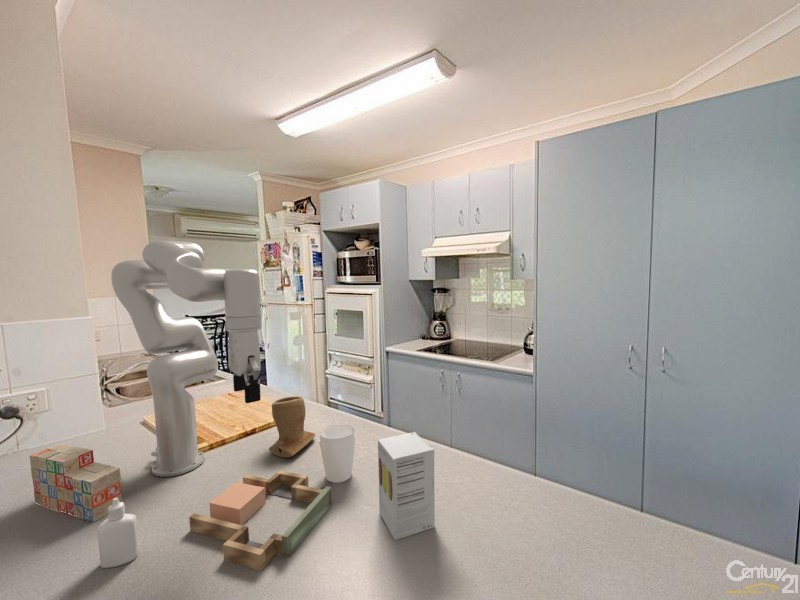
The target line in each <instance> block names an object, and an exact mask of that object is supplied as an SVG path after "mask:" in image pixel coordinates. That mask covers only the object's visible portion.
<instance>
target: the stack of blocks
mask: <svg viewBox="0 0 800 600" xmlns="http://www.w3.org/2000/svg"><path fill="white" fill-rule="evenodd" d="M29 461H30V462H29V463H30V471H31V472H30V473H31V478H32V479H31V480H32V486H33V496H34V502H36V503H38V504H40V505H42V506H41V507H43V506H45V507H48V508H51V509H54V510H57V511H63V512H66V513H70V514H72V515H75V516H77V517H79V518H78V519H80V518H82V519H81V520H83V519H86V520H88V521H87V522H90V521H92V522H91V523H94V521H95V522H97V521H98V520H100V519H102V518H104V517H105V516H107V515H108V507H109V506H111V505H112V503H113V499H114V498H118V500H119V502H123V501H122V500H123V499H122V486H121V485H122V484H121V481H122V480H121V476H122V475H121V468H120V467H116V466H114V465H113V466H112V465H111V464H110V465H109V464H105V463H100V462H95V458H94V450H93V449H91V448H90V449H89V448H83V447H79V446H74V445H70V444H66V443H59V444H55V445H54V446H50V447H47V448H46V449H43V450H41V451H37V452H35V453H32V454H30V455H29ZM40 505H39V506H40ZM45 507H44V508H45ZM48 508H47V509H48ZM51 509H50V510H51ZM54 510H53V511H54ZM57 511H56V512H57ZM106 514H107V515H106ZM72 515H71V516H72ZM75 516H74V517H75ZM103 516H104V517H103ZM77 517H76V518H77ZM101 517H102V518H101ZM99 518H100V519H99ZM97 519H98V520H97ZM86 520H85V521H86ZM96 520H97V521H96Z"/></svg>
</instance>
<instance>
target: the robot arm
mask: <svg viewBox="0 0 800 600" xmlns="http://www.w3.org/2000/svg"><path fill="white" fill-rule="evenodd" d="M205 261H206V259H205V253H204V250H203V249H202V248H201V246H200V245H199V244H197V243H194V242H191V241H181V240H163V239H160V240H159V239H158V240H154V241H152V242H149V243H147V244H146V245H145V246H144V248H143V250H142V259H130V260H129V259H128V260H125V261H121V262H118V263H116V264H115V265H114V266H113V268H112V270H111V275H110V277H111V278H110V280H111V285H112V288H113V292H114V294H115V295H116V298H117V299H118V301H119V302H120V303H121V304H122V306H123V307H124V308H125V309H126V311H127V312H128V315H129V317H130V318H131V321H132V324H133V327H134V330H135V331H136V333H137V337H138V338H139V342H140V343H141V346H142V348H143V349H144V350H145V352H147V353H148V354H150V355H151V354H152V355H158V354H159V355H160V354H164V355H161V356H158V357H156V358H154V359H152V360H151V361H150V363H149V364H148V366H147V368H146V377H147V380H148V384H149V386H150V390H151V395H152V400H153V401H152V402H153V411H154V422H155V423H154V424H155V435H156V436H155V437H156V447H155V450H152V451H151V453H150V455H151V456H152V457H155V459H156V462H154V463H153V465H152V466H151V472H152V474H153V476H155V477H159V476H160V477H161V478H166V477H169V478H170V477H174V476H179V475H183V474H186V473H188V472H191V471H193V470H194V469H196V468H198V467H200V466H201V465H202V463H203V462H204V461H205V454H204V452H203V451H201V452H199V453H198V451H199V446H198V434H197V432H198V431H197V430H198V429H197V418H196V403H195V399H194V397H193V395H191V394H190V392H188V391H187V389H186V388H185V387H186V386H189V385H191V384H196V383H198V382H199V383H200V382H203V381H206V380H209V379H211V378H214V377H215V376H216V375H217V373H218V370H219V362H218V357H217V355H216V353H215V349H214V348H213V345H212V343H211V341H210V338H209V336H208V334H207V332H206V329H205V328H204V326H203V324H202V323H201V322H200V321H199V320H198V319H197V318H195V317H192V316H191V317H190V316H183V317H182V316H181V317H171V316H170V315H169V314H168V311H167V309H166V306H165V305H164V303H163V302H162V301H161V300H159V298H157V297H156V296H155V295H153V294H152V293H150V292H148V291H147V290H164V289H167V290H168V289H169V290H170V291H171V292H172V293H173V294H174V295H176V296H178V297H180V298H182V299H183V300H186V301H188V302H192V303H193V302H195V303H202V302H211V301H212V302H213V301H224V314H225V315H224V316H225V319H224V320H225V332H228V340H227V341H228V342H227V343H228V344H227V346H228V349H227V350H228V351H227V353H228V355H227V357H228V358H227V359H228V360H227V361H228V364H227V366H228V369H229V370H230V371H231V372H232V373H233V375H232V376H233V377H232V379H233V380H232V381H233V391H234V392H242V391H244V402H245V404H251V403H255V402H259V401H261V399H262V397H261V376H260V371H261V350H260V349H261V348H260V337H259V330H261V329H262V315H261V314H262V311H261V310H262V309H261V284H260V283H261V282H260V281H261V280H260V279H261V278H260V274H259V272H258V271H257V270H256V269H250V268H249V269H247V268H246V269H242V268H241V269H237V268H217V267H216V268H215V267H214V268H210V267H209V268H208V267H207V268H204V264H205ZM182 350H185V351H182ZM176 351H179V352H176ZM170 352H171V353H170ZM173 352H174V353H173ZM167 353H168V354H167ZM200 464H201V465H200Z"/></svg>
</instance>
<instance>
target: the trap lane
mask: <svg viewBox="0 0 800 600" xmlns="http://www.w3.org/2000/svg"><path fill="white" fill-rule="evenodd" d="M242 483H243V484H248V485H254V486H259V487H264V488H265V495H271V496H275V497H280V498H283V499H284V498H285V499H289V500H295V501H298V502H299V501H300V502H302V503H303V502H304V503H308V504H309V505H308V506H307V508H305V510H304V511H302V513H301V514H300V515H299V516H298V518H296V520H295V521H294V522H292V524H291V525H290V526H289V527H288V528H287V529H286V531H285V532H284V533H283V534H279V533H273V534H272V535H270V537H268V538H267V540H266V541H265V542H264V543H260V542H256V541H253V540H250V535H249V534H250V533H249V526H246V525H243V524H242V525H238V524H234V523H230V522H226V521H222V520H219V519H215V518H211V517H210V516H206V515H202V514H198V513H193V514H192V515H190V516H189V518H188V519H189V530H190V532H192V533H197V534H200V535H204V536H208V537H211V538H215V539H219V540H222V541H225V542H224V543H223V545H222V549H223V552H222V553H223V561H227V562H230V563H234V564H237V565H241V566H243V567H247V568H251V569H254V570H258V571H263V569H265V567H266V566H267V564H268V563H269V562H270V561H271V560H272V559H273V558H274V557H275V555H278V556H280V557H281V556H282V557H285V558H289V557H290V556H291V555H292V554H293V553H294V551H295V550H296V549H297V547H298V546H299V545H300V544H301V542H303V540H304V539H305V538H306V536H307V535H308V534H309V533H310V531H312V529H313V527H314V526H315V525H316V524H317V523H318V522H319V520H321V518H322V517H323V515H325V513H327V512H326V511H328V509H329V508H330V507H331V505H332V504H333V499H332V498H333V497H332V495H333V493H332V486H328V485H326V486H325V487H324V489H322V488H315V487H312V486H309V476H308V475H305V474H301V473H294V472H290V471H284V470H279V471H277V472H275V474H273V475H272V476H271V477H270V478H265V477H260V476H254V475H249V474H245V475H244V476H243V477H242Z"/></svg>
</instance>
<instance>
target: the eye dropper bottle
mask: <svg viewBox="0 0 800 600" xmlns="http://www.w3.org/2000/svg"><path fill="white" fill-rule="evenodd" d="M107 515H108V516H107V519H105V520H103V521H102V522H101V523H100V525H99V526H98V529H97V539H98V540H97V541H98V550H99V552H98V553H99V563H100V567H101V568H102V569H107V568H114V567H119V566H122V565H125V564H127V563H129V562H132V561H134V560H135V559H136V558H137V557H138V555H139V552H140V545H139V533H138V532H139V531H138V521H137V516H136V515H135V514H133V513H126V509H125V502H123V501H122V502H119V500H118V498H114V499H113V503H112V505H111V506H109V507H108V514H107Z"/></svg>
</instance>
